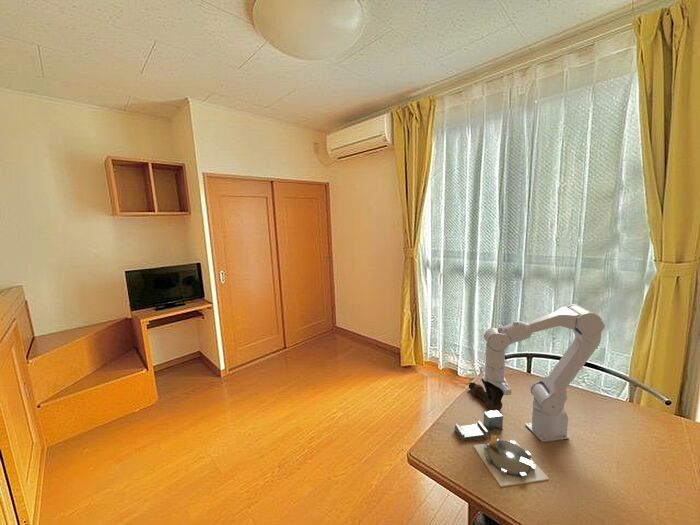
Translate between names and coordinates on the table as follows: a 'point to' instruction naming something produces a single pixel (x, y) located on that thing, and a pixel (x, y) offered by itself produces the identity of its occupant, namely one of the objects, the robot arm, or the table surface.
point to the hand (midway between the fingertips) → (493, 401)
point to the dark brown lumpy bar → (483, 396)
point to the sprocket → (509, 457)
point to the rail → (471, 431)
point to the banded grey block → (493, 420)
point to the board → (509, 479)
